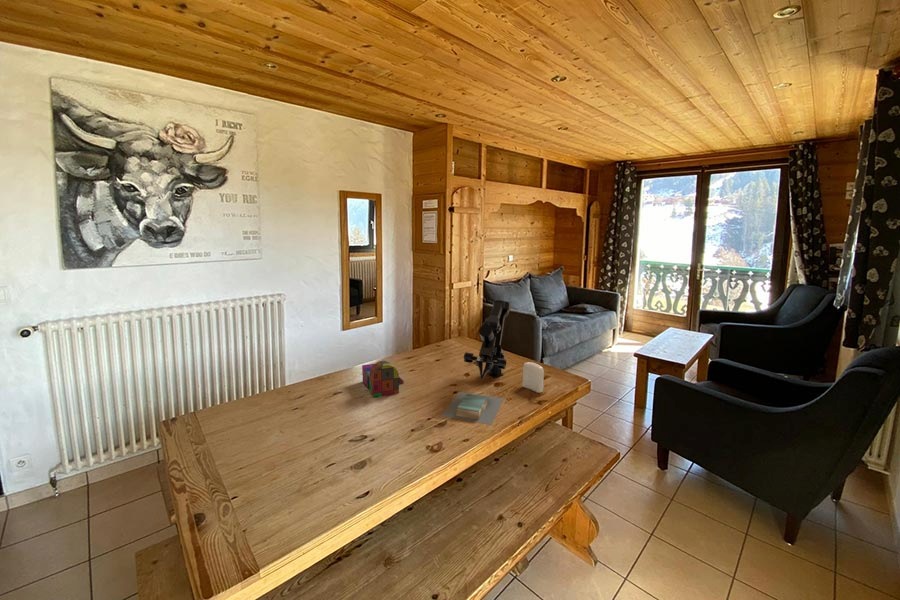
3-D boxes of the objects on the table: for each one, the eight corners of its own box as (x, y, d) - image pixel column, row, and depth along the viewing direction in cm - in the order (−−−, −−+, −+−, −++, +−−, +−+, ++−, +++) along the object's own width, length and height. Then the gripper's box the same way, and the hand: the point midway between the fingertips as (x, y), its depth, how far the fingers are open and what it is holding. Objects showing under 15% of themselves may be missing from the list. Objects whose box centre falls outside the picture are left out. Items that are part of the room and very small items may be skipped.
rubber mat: (459, 393, 181) (459, 391, 180) (503, 400, 174) (503, 398, 174) (441, 418, 158) (441, 416, 158) (491, 426, 152) (491, 424, 152)
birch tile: (466, 393, 171) (456, 407, 158) (487, 396, 168) (479, 411, 155) (466, 400, 172) (456, 415, 159) (487, 404, 169) (478, 419, 156)
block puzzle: (410, 391, 183) (410, 361, 180) (373, 398, 176) (372, 367, 173) (393, 372, 205) (393, 345, 202) (359, 377, 198) (358, 350, 195)
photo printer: (520, 386, 189) (522, 361, 187) (526, 384, 192) (528, 359, 189) (538, 394, 181) (539, 367, 179) (544, 391, 184) (546, 365, 182)
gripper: (466, 335, 178) (459, 368, 170) (509, 342, 175) (503, 377, 167) (467, 345, 187) (460, 377, 180) (508, 352, 184) (502, 385, 177)
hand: (481, 379), depth 176 cm, fingers closed
